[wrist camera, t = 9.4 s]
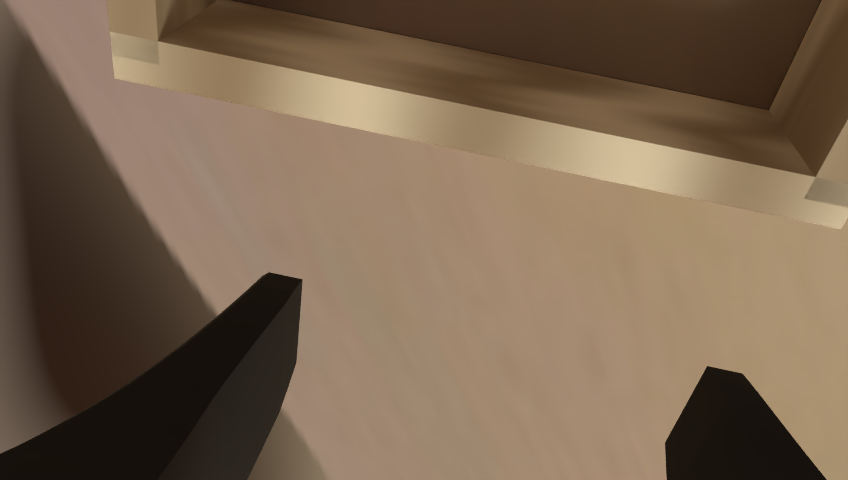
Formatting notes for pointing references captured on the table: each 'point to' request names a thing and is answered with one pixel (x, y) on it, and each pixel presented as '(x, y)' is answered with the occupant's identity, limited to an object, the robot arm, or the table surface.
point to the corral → (513, 102)
